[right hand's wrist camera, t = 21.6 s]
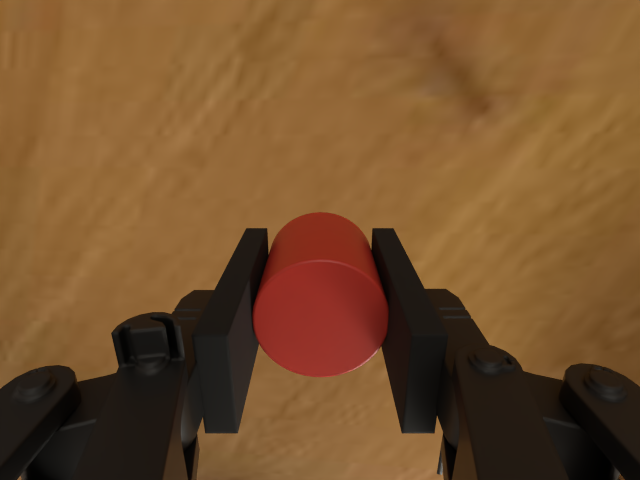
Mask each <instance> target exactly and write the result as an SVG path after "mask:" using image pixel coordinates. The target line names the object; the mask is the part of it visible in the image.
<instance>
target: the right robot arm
mask: <svg viewBox="0 0 640 480" xmlns="http://www.w3.org/2000/svg"><path fill="white" fill-rule="evenodd" d="M371 251H372V255H373V258H374V261H375V264H376V267H377V271H378V274H379V277H380V280H381V283H382V286H383V290H384V293H385V296H386V299H387V302H388V306H389V315H388V329H387V335H386V337H385V340H384V342H383V344H382V345H381V347H382V351H383V355H384V359H385V364H386V368H387V372H388V376H389V381H390V385H391V389H392V393H393V397H394V402H395V406H396V410H397V414H398V419H399V423H400V427H401V431H402V433H434V432H435V425H436V418H437V416H438V419H439V422H440V425H441V427H442V430H443V437H442V444H441V450H440V457H439V463H438V470H437V474H441V475H442V472H443V476H444V480H620V479H619V478H618V477H619V475H620V474H621V475H622V476H623V478H624V479H625V480H640V387H639V386H638V385H637V384H635V383H634V382H633V381H631V380H630V379H628V378H627V377H626V376H624V375H622V374H620V373H617V372H615V371H613V370H611V369H609V368H606V367H602V366H598V365H593V364H582V363H581V364H576V365H571V366H570V367H569V368H568V369H567V370H566V371H565V374H564V378H563V380H559V379H554V378H550V377H545V376H540V375H535V374H532V373H528V372H524V371H523V370H522V367H521V365H520V364H519V363H518V361H517V360H516V359H515V358H514V357H513V356H512V355H510V354H509V353H507V352H506V351H504V350H502V349H499V348H497V347H495V346H491V345H489V343H488V342H487V340H486V339H485V337H484V336H483V334H482V333H481V331H480V330H479V328H478V327H477V325H476V324H475V322H474V320H473V319H471V316H470V314H469V313H468V311H467V310H465V307H464V305H463V304H462V302H461V301H460V299H459V298H458V297H457V296H455V295H454V294H452V293H451V292H450V291H448V290H447V289H424V287H423V285H422V283H421V281H420V279H419V277H418V275H417V273H416V271H415V269H414V267H413V265H412V264H411V262H410V260H409V258H408V256H407V254H406V252H405V250H404V248H403V246H402V244H401V242H400V240H399V238H398V236H397V235H396V233H395V231H394V229H393V228H373V230H372V249H371ZM268 256H269V254H268V235H267V228H246V230H245V232H244V234H243V236H242V238H241V240H240V242H239V244H238V246H237V247H236V249H235V251H234V253H233V255H232V257H231V259H230V261H229V263H228V265H227V267H226V269H225V271H224V273H223V275H222V276H221V278H220V280H219V282H218V284H217V286H216V288H215V290H194V291H192V292H191V293H189V294H188V295H186V296H185V297H183V298H182V299H181V300H180V302H179V303H178V305H177V306H176V308H175V311H173V313H172V314H169V313H165V312H152V313H146V314H141V315H138V316H135V317H133V318H130V319H127V320H126V321H124V322H123V323H121V324H120V325H118V326H117V327H116V328H115V329H114V331H113V332H112V333H111V334H112V339H113V343H114V347H115V352H116V356H117V360H118V365H119V368H118V370H117V373H114V374H111V375H107V376H103V377H98V378H94V379H89V380H84V381H79V382H77V379H76V375H75V372H74V371H73V370H72V369H70V368H69V367H66V366H60V365H55V366H45V367H41V368H38V369H34V370H31V371H28V372H27V373H24V374H22V375H20V376H18V377H16V378H14V379H13V380H12V381H10V382H9V383H7V384H6V385H5V386H3V387H2V388H1V389H0V480H17V479H18V478H19V476H21V478H22V480H196V477H197V467H198V458H199V444H198V437H197V431H198V428H199V426H200V423H201V420H202V417H203V420H204V427H205V433H238V430H239V426H240V422H241V417H242V413H243V409H244V405H245V400H246V396H247V392H248V388H249V384H250V379H251V375H252V371H253V367H254V362H255V358H256V354H257V350H258V345H259V342H258V340H257V338H256V336H255V333H254V329H253V323H252V311H253V305H254V302H255V299H256V296H257V292H258V289H259V286H260V282H261V279H262V276H263V273H264V269H265V266H266V263H267V259H268Z"/></svg>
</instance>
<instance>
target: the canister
mask: <svg viewBox="0 0 640 480" xmlns="http://www.w3.org/2000/svg"><path fill="white" fill-rule="evenodd" d="M388 315H389V306H388V302H387V299H386V296H385V293H384V290H383V286H382V283H381V280H380V277H379V274H378V271H377V267H376V264H375V261H374V258H373V255H372V251H371V248H370V245H369V242H368V240H367V238H366V237H365V235H364V234H363V232H362V231H361V230H360V229H359V228H358V227H357V226H356V225H355V224H354V223H352V222H351V221H349V220H348V219H346V218H344V217H342V216H339V215H336V214H331V213H322V212H319V213H310V214H306V215H303V216H300V217H298V218H296V219H294V220H292V221H290V222H289V223H288V224H286V225H285V226H284V227H283V228H282V229H281V230H280V231H279V233H278V234H277V236H276V237H275V239H274V241H273V243H272V246H271V250H270V253H269V256H268V259H267V263H266V266H265V269H264V273H263V276H262V279H261V282H260V286H259V289H258V292H257V296H256V299H255V302H254V305H253V311H252V323H253V329H254V333H255V336H256V338H257V340H258V342H259V344H260V346H261V347H262V349H263V350H264V352H265V353H266V354H267V355H268V356H269V357H270V358H271V359H272V360H273V361H275V362H276V363H277V364H279V365H280V366H282V367H284V368H285V369H287V370H289V371H292V372H295V373H297V374H301V375H305V376H312V377H330V376H336V375H341V374H344V373H347V372H350V371H352V370H354V369H356V368H358V367H360V366H362V365H363V364H364V363H366V362H367V361H368V360H370V359H371V358H372V357H373V356H374V355H375V354H376V352H377V351H378V350H379V348H380V347H381V345H382V344H383V342H384V340H385V337H386V335H387V329H388Z"/></svg>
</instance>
